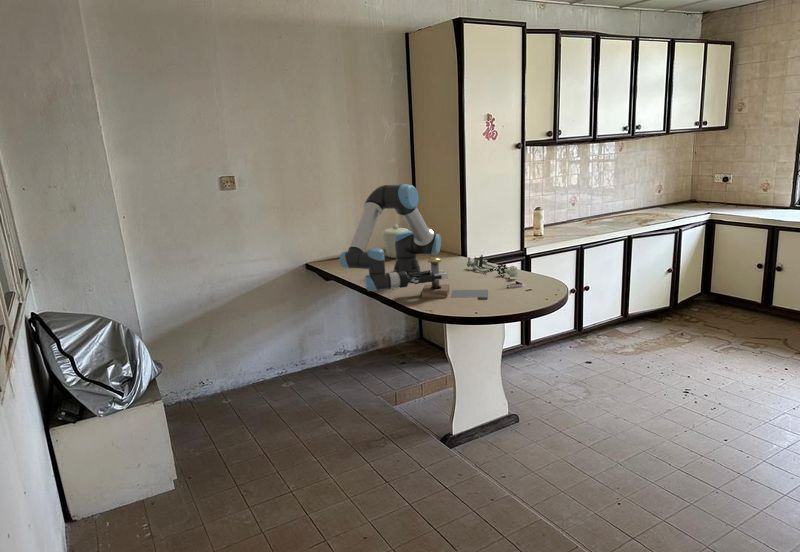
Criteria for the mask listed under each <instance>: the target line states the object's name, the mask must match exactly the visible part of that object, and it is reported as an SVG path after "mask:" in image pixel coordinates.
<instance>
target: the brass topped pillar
mask: <svg viewBox="0 0 800 552" xmlns="http://www.w3.org/2000/svg"><path fill="white" fill-rule="evenodd" d="M440 262H441V263H442V258H441V257H437V256H436V257H435V256H434V257H428V258H427V263H430V273H431V275H434V274H439V271H440V269H439V267H440V266H439V263H440ZM431 285H432V289H439V285H440V280H435V282H431Z"/></svg>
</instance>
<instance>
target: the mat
mask: <svg viewBox="0 0 800 552" xmlns="http://www.w3.org/2000/svg"><path fill="white" fill-rule="evenodd" d="M488 297H489V290H488V289H452V291H451V294H450V298H452V299H455V298H461V299H463V298H465V299H466V298H476V299H477V300H488Z"/></svg>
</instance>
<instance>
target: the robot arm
mask: <svg viewBox="0 0 800 552" xmlns="http://www.w3.org/2000/svg"><path fill="white" fill-rule="evenodd" d="M419 201H420V197H419V193H418V190H417V188H416V187H415V186H414V185H413V184H412V185H411V184H384V185H380V186H378V187H376V188H375V189H373V191H372V192H371V193H370V194H369V196H368V197H367V199H365V203H364V204H363V208H364V210H363V213H362V215H361V218H360V219H359V223H358V225H357V227H356V230H355V232H354V235H353V237H352V240H351V242H350V245H349V247H348V250H347V251H344V252H341V253H340V256H339V264H340V266H341V267H342V268H345V269H346V268H347V269H361V270H362V269H363V270H368V275H365V277H364V285H365V289H366V290H367V292H376V291H384V290H385V291H386V290H395V289H399V288H400V289H401V288H402V289H403V288H407V287H408V286H409V284H414V285H418V284H424V283H432V282H435V280H439V281H440V280H447V279H449V276H448V275H449V274H448V272H445V270H443V269H442V270H439V274H434V275H431V269H428V270H426V271H425V270H424V271H421V266H420V264H419V261H418V259H417V255H422V256H423V255H425V256H435V255H438V254H439V253H440V250H441V248H442V247H441V246H442V236H441V234H439V233H434V231H433V229H431V228H430V227H428V225H427V224H426V222H425V219H424V218H423V216H422V214H421V213H420V210H419V209H418V205H419ZM386 209H388V210H389V209H390V210H391V209H394V210H395V212H396V213H397V214H398V215H400V216H402V217H403V220H404V221H405V223H406V224H407V226H408V228H409V229H410V231H404V232H400V233H397V234H396V235H395V250H396V258H395V262H394V266H393V272H386V263H385V262H386V261H385V259H386V258H385V252H384V249H382V248H380V247H375V248H374V247H373V248H370V249H368V250H367V252H365V251H366V249H367V246H368V244H369V242H370V239H371V237H372V234H373V231H374V228H375V226H376V224H377V220H378V219H379V216H380V215H382V213H383V211H384V210H386Z"/></svg>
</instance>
